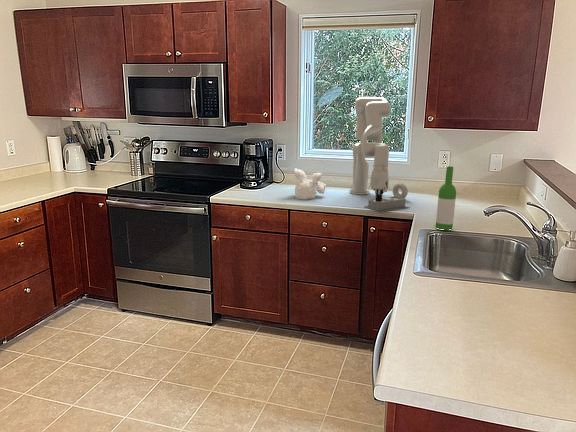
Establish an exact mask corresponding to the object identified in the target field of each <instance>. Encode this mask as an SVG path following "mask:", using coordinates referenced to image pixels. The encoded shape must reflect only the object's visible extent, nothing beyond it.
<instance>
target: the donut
mask: <svg viewBox="0 0 576 432" xmlns="http://www.w3.org/2000/svg"><path fill="white" fill-rule="evenodd" d="M399 189H400V190H401V193H400V192H399ZM408 193H409V191H408V188H407V186H406V185H405V184H404V183H401V182H398V183H396V184H395V185H393V187H392V194H393V196H397V197H400V198H404V199H406V198H407V196H408Z"/></svg>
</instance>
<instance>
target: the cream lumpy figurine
mask: <svg viewBox="0 0 576 432" xmlns="http://www.w3.org/2000/svg"><path fill="white" fill-rule="evenodd" d="M293 171H294V172H293V173H294V176H295V179H296V180H297V181H300V182H298V183H296V185H295V187H294V194H295V199H296V200H305V201H306V200H312V199H315V198H316V195H317V194H320V195H321V194H324V193H325V192H326V186H327V184H326V183H324V182H321V178H322V175H323V172H314V173H313V174H312V175H311V177H310V179H309V178H307V175H306V173H305V171H303V170H302V169H300V168H299V169H298V168H296V167H294V169H293ZM317 192H318V193H317Z"/></svg>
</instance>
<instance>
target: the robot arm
mask: <svg viewBox="0 0 576 432" xmlns="http://www.w3.org/2000/svg"><path fill="white" fill-rule="evenodd" d="M354 103H355V104H354V107H355V108H354V110H355V113H356V118H357V120H356V131H355V133H356V135H355V136H356V139H357V140H359V141H360V142H356V143H355V144H353V146H352V157H353V159H352V160H353V161H352V162H353V165H352V166H353V167H352V183H351V184H350V185H349V186H348V187H349V188H351V189H350V190H349V193H350V194H352V195H369V194H370V190H369V189H368V185H369V186H370V188H371V189H372V190H373V191H374V194H375V199H376V201H377V202H380V201H382V198H383V194H384V193H387V192H388V188H389V183H390V182H389V181H390V180H389V170H388V168H389V155H390V146H389V145H387V143H384V142H383V136H384V135H383V129H382V128H383V119H382V118H388V117H389V116H391V114H392V113H391V112H392V107H391V104H390V103H389V101H388V100H387V99H386V98H385V97H377V96H372V97H371V96H361V97H358V98H357V99H355V102H354ZM368 141H369V142H368ZM371 141H372V142H371ZM366 159H373V166H372V167H373V169H372V171H371V176H370V182H368V181H369V163H368V161H367V160H366Z"/></svg>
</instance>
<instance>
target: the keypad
mask: <svg viewBox="0 0 576 432" xmlns="http://www.w3.org/2000/svg"><path fill="white" fill-rule="evenodd" d="M387 197H388V198H398V200H395V199H393V200H392V201H385V200H382V201H384V202H379V203H378V202H375V201H374V200H376V198H373V199H367V201H368V203H367V205H364V206H363V207H364V208H367V209H368V210H369V209H370V210H372V211H376V212H378V213H382V214H383V213H388V212H393V211H399V210H400V211H401V210H405V209H406V210H407V209H409V208H410V207H409V206H406V202H407V201H406V198H400V197H397V196H394V195H393V196H387Z"/></svg>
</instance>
